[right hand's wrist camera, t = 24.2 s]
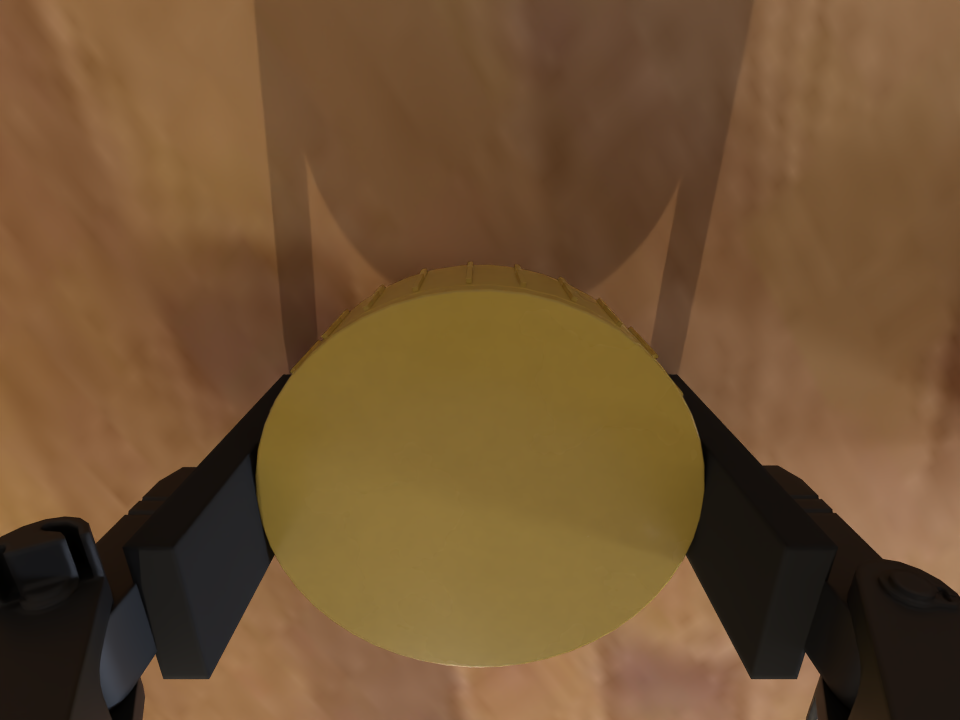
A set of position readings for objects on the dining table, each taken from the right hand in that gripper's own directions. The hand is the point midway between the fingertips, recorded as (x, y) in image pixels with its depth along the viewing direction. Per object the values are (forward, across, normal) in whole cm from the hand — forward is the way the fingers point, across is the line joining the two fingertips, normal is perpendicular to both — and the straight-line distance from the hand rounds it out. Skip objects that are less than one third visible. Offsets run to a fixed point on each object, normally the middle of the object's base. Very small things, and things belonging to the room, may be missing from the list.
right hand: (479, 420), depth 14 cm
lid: (-4, 0, 0) cm, 4 cm away
